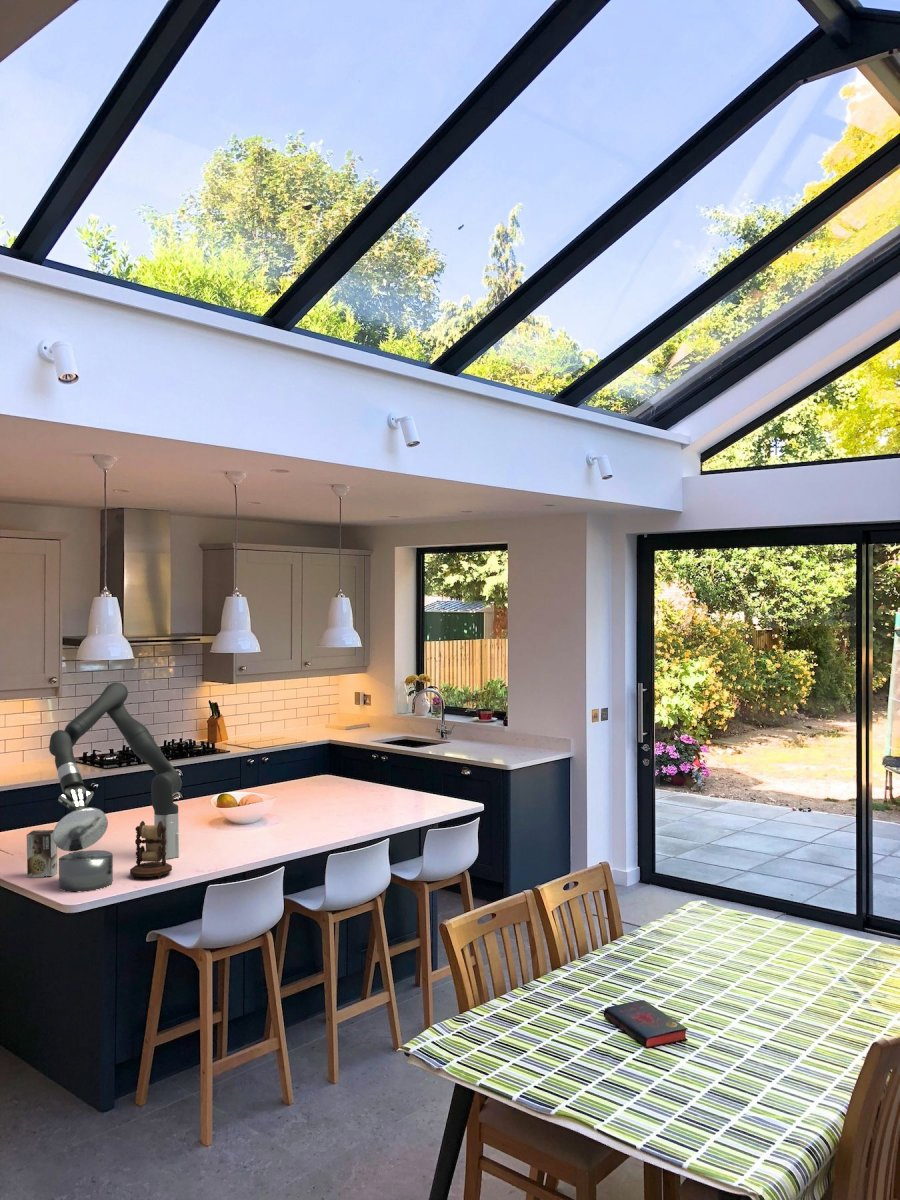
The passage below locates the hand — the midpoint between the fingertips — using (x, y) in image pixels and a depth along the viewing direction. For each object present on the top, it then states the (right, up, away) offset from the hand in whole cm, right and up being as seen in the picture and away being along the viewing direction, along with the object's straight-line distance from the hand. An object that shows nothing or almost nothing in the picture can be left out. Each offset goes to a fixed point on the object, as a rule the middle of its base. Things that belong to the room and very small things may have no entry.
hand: (81, 816), depth 345 cm
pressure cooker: (+3, -24, -3) cm, 24 cm away
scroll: (+22, -24, +9) cm, 34 cm away
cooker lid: (-1, -5, +1) cm, 6 cm away
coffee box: (-19, -24, +10) cm, 32 cm away
